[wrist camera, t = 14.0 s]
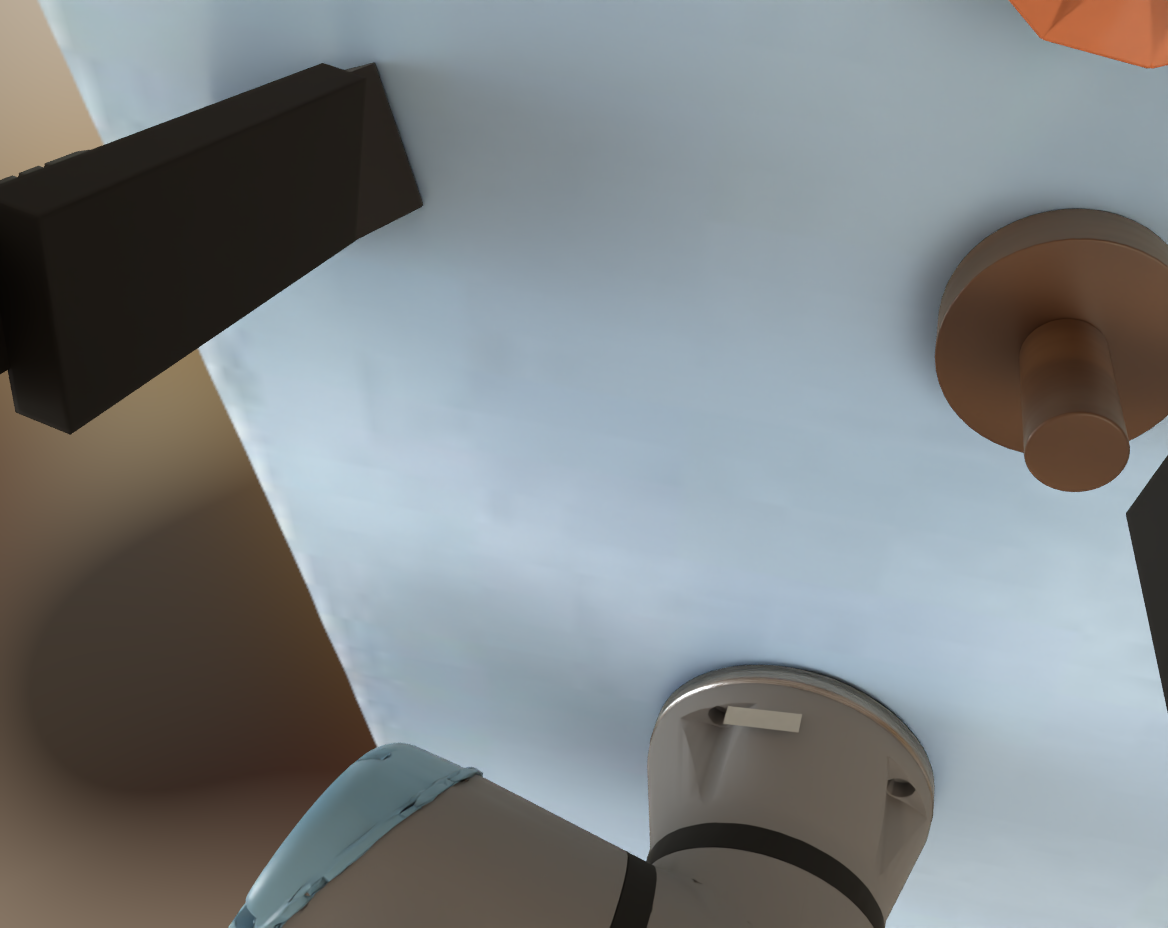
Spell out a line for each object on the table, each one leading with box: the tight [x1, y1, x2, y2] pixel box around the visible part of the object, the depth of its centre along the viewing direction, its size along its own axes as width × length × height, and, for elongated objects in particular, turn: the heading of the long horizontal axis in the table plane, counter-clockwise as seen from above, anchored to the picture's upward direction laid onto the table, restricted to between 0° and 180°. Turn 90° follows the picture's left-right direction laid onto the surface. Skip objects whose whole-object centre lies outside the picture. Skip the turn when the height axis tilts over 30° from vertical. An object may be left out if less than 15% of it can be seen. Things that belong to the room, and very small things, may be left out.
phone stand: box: [206, 63, 423, 240], centre depth 38 cm, size 9×6×12 cm, turn 105°
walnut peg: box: [935, 209, 1168, 492], centre depth 32 cm, size 8×8×10 cm
